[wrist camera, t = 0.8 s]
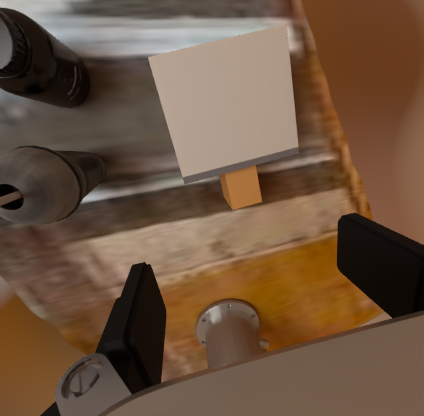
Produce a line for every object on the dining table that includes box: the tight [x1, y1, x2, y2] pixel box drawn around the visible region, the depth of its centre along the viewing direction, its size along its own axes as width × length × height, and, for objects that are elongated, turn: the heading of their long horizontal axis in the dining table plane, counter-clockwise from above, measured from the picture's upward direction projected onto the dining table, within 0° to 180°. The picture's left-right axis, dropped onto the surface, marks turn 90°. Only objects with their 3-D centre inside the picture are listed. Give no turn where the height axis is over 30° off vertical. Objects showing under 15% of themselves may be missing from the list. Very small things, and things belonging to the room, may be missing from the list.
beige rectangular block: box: [148, 24, 299, 184], centre depth 27 cm, size 14×13×8 cm
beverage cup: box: [0, 146, 106, 226], centre depth 22 cm, size 7×7×20 cm
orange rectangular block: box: [219, 165, 262, 210], centre depth 29 cm, size 4×12×6 cm, turn 14°
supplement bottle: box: [0, 8, 90, 107], centre depth 22 cm, size 7×7×12 cm
